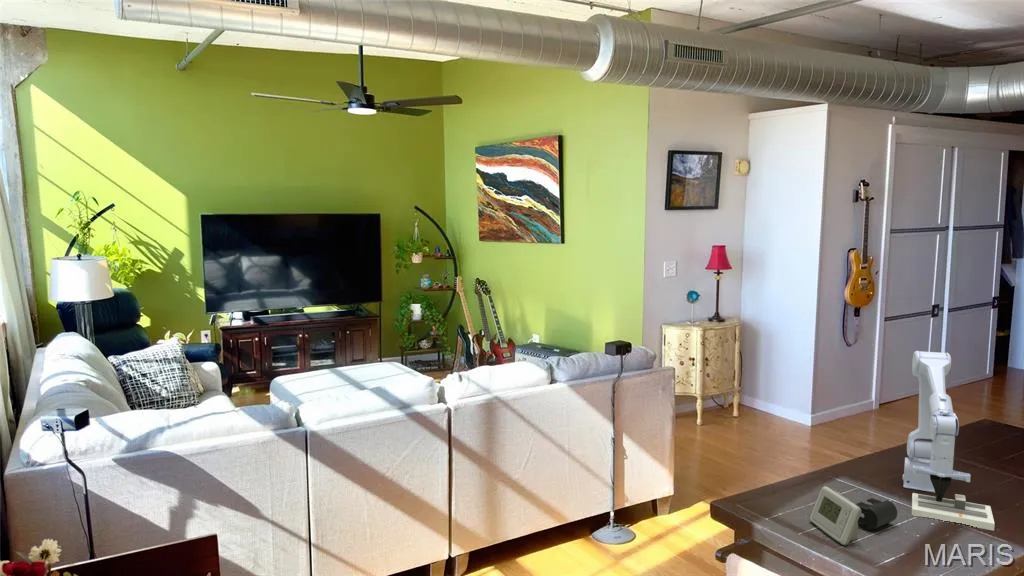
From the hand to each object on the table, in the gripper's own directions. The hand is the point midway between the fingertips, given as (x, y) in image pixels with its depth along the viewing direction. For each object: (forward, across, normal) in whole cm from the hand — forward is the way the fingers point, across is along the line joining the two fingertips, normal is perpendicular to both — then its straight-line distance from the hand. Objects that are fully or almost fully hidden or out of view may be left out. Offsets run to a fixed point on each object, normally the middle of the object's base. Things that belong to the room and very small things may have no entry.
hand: (938, 500), depth 212 cm
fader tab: (+1, +5, 0) cm, 5 cm away
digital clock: (+4, -26, -31) cm, 40 cm away
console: (+3, +3, 0) cm, 5 cm away
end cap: (+4, -16, -20) cm, 26 cm away
